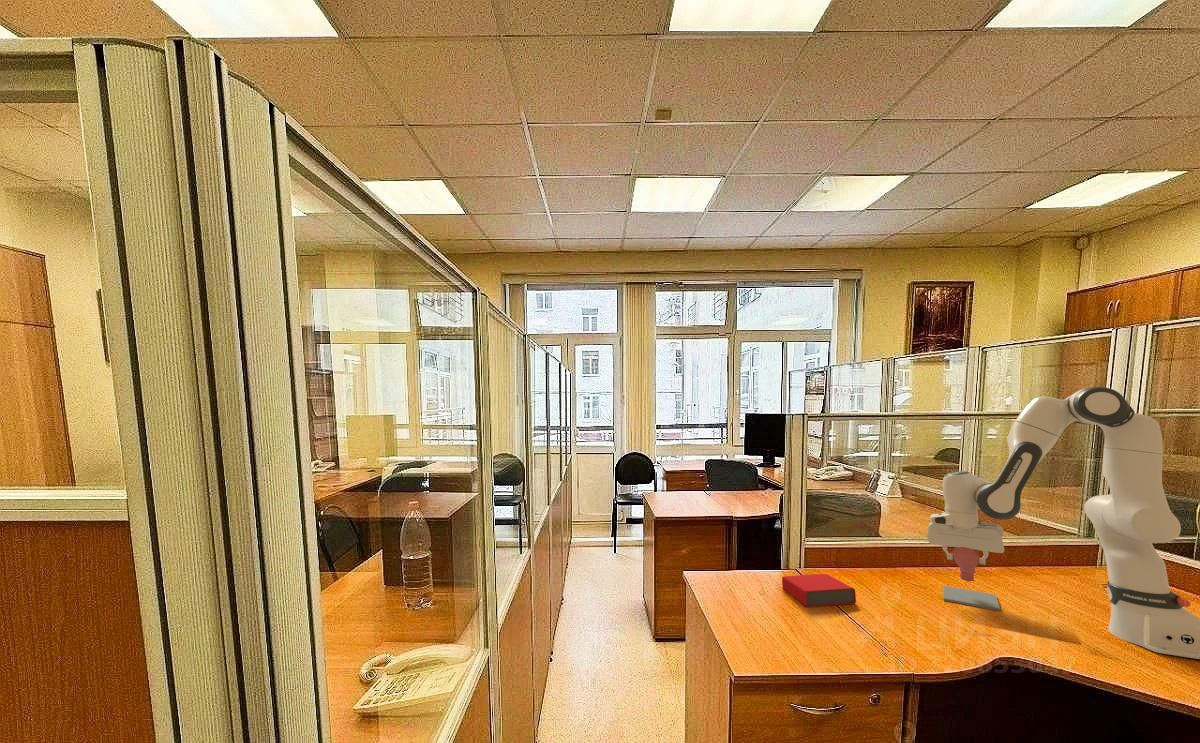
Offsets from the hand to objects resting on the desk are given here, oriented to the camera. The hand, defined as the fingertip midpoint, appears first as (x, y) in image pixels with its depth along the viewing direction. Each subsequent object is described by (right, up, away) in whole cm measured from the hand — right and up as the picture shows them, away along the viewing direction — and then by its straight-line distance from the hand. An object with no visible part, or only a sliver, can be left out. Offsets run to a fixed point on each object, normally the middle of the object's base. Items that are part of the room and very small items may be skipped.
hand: (965, 561), depth 148 cm
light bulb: (0, -7, -1) cm, 7 cm away
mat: (0, -12, -1) cm, 12 cm away
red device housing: (-49, -13, +2) cm, 51 cm away
